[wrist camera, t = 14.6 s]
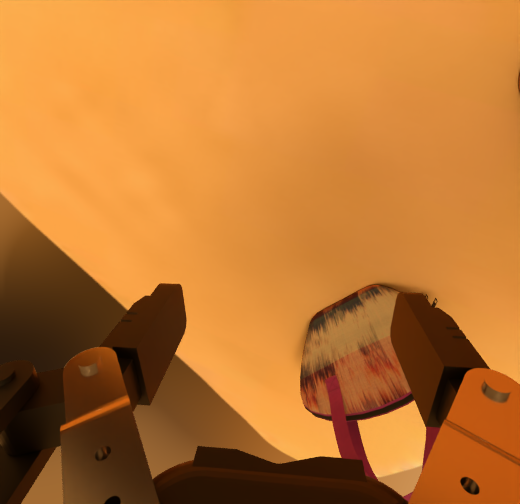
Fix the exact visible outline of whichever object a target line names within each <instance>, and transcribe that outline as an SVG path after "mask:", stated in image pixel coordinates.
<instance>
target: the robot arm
mask: <svg viewBox="0 0 520 504" xmlns="http://www.w3.org/2000/svg"><path fill="white" fill-rule="evenodd" d="M519 88H520V76H519ZM185 329H186V312H185V305H184V298H183V291H182V287H181V285H180V284H163V283H161V284H159V285H158V286H157V288H156V289H155V290H154V292H153V293H152V294H151V296H144V297H143V298H141V299H140V300H138V301H137V302H135V303H134V304H133V305H132V306H131V308H130V309H129V310H128V311H127V314H125V316H124V317H123V318H122V319H121V322H119V323H118V324H117V325H116V327H115V328H114V329H113V330H112V331H111V333H110V334H109V335H108V337H107V338H106V339H105V340H104V342H103V343H102V344H101V345H100V346H99V347H96V348H92V349H88V350H86V351H83V352H81V353H79V354H77V355H76V356H74V358H72V359H71V360H70V361H69V362H68V363H67V364H66V366H65V367H64V368H61V369H56V370H50V371H45V372H40V373H36V371H35V369H34V366H33V364H32V363H31V362H29V361H25V360H17V361H11V362H7V363H5V364H2V365H0V504H21V503H22V501H23V499H24V498H25V496H26V494H27V493H28V491H29V490H30V488H31V487H32V485H33V484H34V482H35V480H36V479H37V477H38V476H39V474H40V472H41V471H42V469H43V468H44V466H45V464H46V463H47V461H48V460H49V458H50V456H51V455H52V453H53V452H54V450H55V448H56V447H57V446H61V463H62V482H63V483H62V484H63V504H520V384H518V383H517V382H516V381H514V380H513V379H512V378H510V377H508V376H506V375H504V374H502V373H500V372H497V371H494V370H491V369H490V368H489V367H488V366H487V364H486V363H485V362H484V360H483V359H482V357H481V356H480V355H479V353H478V352H477V351H476V349H475V348H474V347H473V345H472V344H471V343H470V341H469V340H468V339H466V336H465V335H464V333H463V332H462V331H461V330H459V327H458V325H457V324H456V323H455V321H454V320H453V319H452V317H451V316H449V315H448V314H446V313H445V312H444V311H442V310H441V309H439V308H432V306H431V305H430V303H429V302H428V300H427V299H426V297H425V296H424V295H423V294H422V293H403V292H400V293H398V295H397V298H396V302H395V307H394V312H393V318H392V323H391V328H390V337H391V343H392V346H393V348H394V351H395V353H396V356H397V358H398V361H399V363H400V365H401V368H402V370H403V373H404V375H405V378H406V380H407V382H408V385H409V387H410V390H411V392H412V395H413V397H414V399H415V402H416V404H417V407H418V409H419V412H420V414H421V416H422V419H423V421H424V424H425V426H426V427H437V428H440V431H439V433H438V435H437V438H436V440H435V442H434V445H433V447H432V449H431V452H430V454H429V456H428V458H427V461H426V463H425V465H424V468H423V470H422V472H421V475H420V477H419V479H418V482H417V484H416V486H415V489H414V491H413V493H412V495H411V498H410V500H409V502H408V501H407V500H406V499H405V498H403V497H402V496H401V495H399V494H398V493H397V492H396V491H394V490H393V489H392V488H390V487H388V486H387V485H385V484H383V483H381V482H379V481H378V480H376V479H374V478H372V477H369V476H366V475H365V471H364V466H363V461H362V460H357V459H345V458H333V457H321V456H320V457H315V458H309V459H304V460H299V461H294V462H288V463H282V464H276V463H272V462H270V461H266V460H264V459H261V458H259V457H256V456H253V455H250V454H248V453H245V452H242V451H240V450H237V449H225V448H214V447H202V446H198V447H197V451H196V454H195V458H194V460H192V461H188V462H184V463H182V464H178V465H176V466H174V467H172V468H170V469H168V470H166V471H164V472H162V473H161V474H159V475H158V476H156V477H155V478H154V479H152V476H151V472H150V469H149V465H148V462H147V458H146V455H145V452H144V448H143V444H142V441H141V438H140V434H139V431H138V428H137V424H136V420H135V417H134V414H133V411H134V409H135V407H136V405H150V404H151V402H152V400H153V398H154V396H155V394H156V392H157V389H158V387H159V385H160V383H161V381H162V379H163V377H164V375H165V372H166V371H167V369H168V366H169V364H170V362H171V360H172V358H173V356H174V354H175V352H176V350H177V348H178V345H179V343H180V341H181V339H182V337H183V335H184V332H185Z"/></svg>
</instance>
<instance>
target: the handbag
mask: <svg viewBox="0 0 520 504" xmlns="http://www.w3.org/2000/svg"><path fill="white" fill-rule="evenodd" d="M398 293H400V292H398V291H396V290H394V289H392V288H388V287H384V286H380V285H372V286H368V287H366V288H364V289H361V290H359V291H357V292H356V293H354V294H352V295H350V296H348V297H346V298H345V299H343V300H341V301H339V302H337V303H335V304H333V305H331V306H329V307H327V308H325V309H324V310H322V311H320V312H318V313H317V314H316V315H315V316H314V317H313V318H312V320H311V322H310V325H309V330H308V334H307V338H306V342H305V347H304V352H303V358H302V364H301V375H300V391H301V397H302V400H303V404H304V406H305V408H306V409H307V410H308V411H310V412H311V413H312V414H313V415H314V416H316V417H318V418H322V419H325V420H329V421H333V427H334V431H335V436H336V440H337V444H338V448H339V452H340V455H341V457H342V458H345V459H357V460H362V461H363V466H364V471H365V475H366V476H369V477H372V478H374V479H376V480H378V479H377V478H376V476H375V474H374V473H373V471H372V469H371V467H370V464H369V462H368V460H367V457H366V454H365V451H364V447H363V444H362V440H361V436H360V432H359V428H358V423H357V420H365V419H370V418H373V417H377V416H380V415H384V414H387V413H389V412H392V411H394V410H396V409H399V408H401V407H403V406H405V405H408V404H409V403H411V402H412V401H414V400H415V399H414V397H413V395H412V392H411V390H410V387H409V385H408V382H407V380H406V378H405V375H404V373H403V370H402V368H401V365H400V363H399V361H398V358H397V356H396V353H395V351H394V348H393V346H392V343H391V337H390V328H391V323H392V318H393V312H394V307H395V302H396V298H397V295H398ZM426 295H427V294H426ZM425 297H426V296H425ZM427 299H428V296H427ZM435 299H436V298H435ZM436 300H437V299H436ZM436 303H437V302H436ZM435 305H436V304H435V300H434V302H433V304H432V308H434V307H435ZM439 431H440V428H437V427H426V442H425V450H424V458H423V467H422V470H423V468H424V465H425V463H426V461H427V458H428V456H429V454H430V452H431V449H432V447H433V445H434V442H435V440H436V438H437V435H438V433H439ZM412 493H413V492H412ZM412 493H410V494H408V495H406V496H404V497H403V498H405V499H406V500H407V501H408V502H409V500H410V498H411V495H412Z"/></svg>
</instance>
